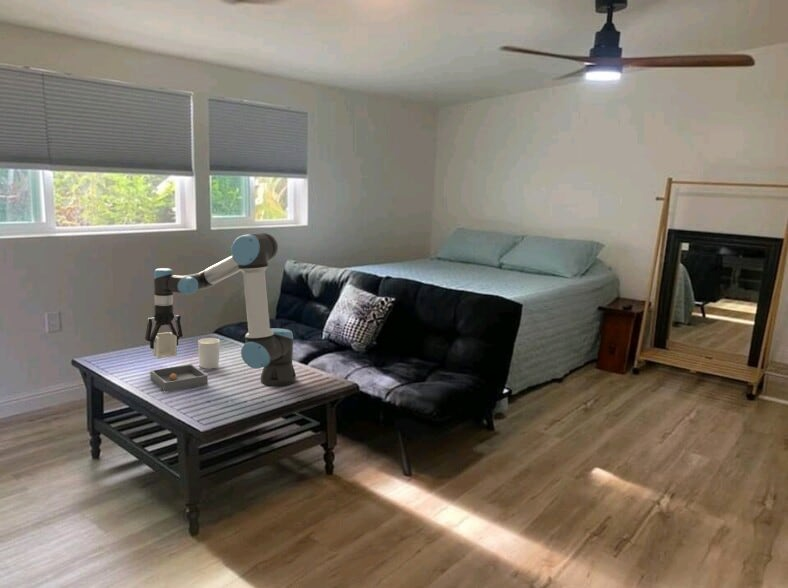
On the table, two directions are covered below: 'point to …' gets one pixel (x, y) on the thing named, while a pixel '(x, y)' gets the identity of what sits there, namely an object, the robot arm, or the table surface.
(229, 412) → the table surface
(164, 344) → the cream open-top bin
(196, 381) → the tray
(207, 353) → the candle holder
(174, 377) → the ball
